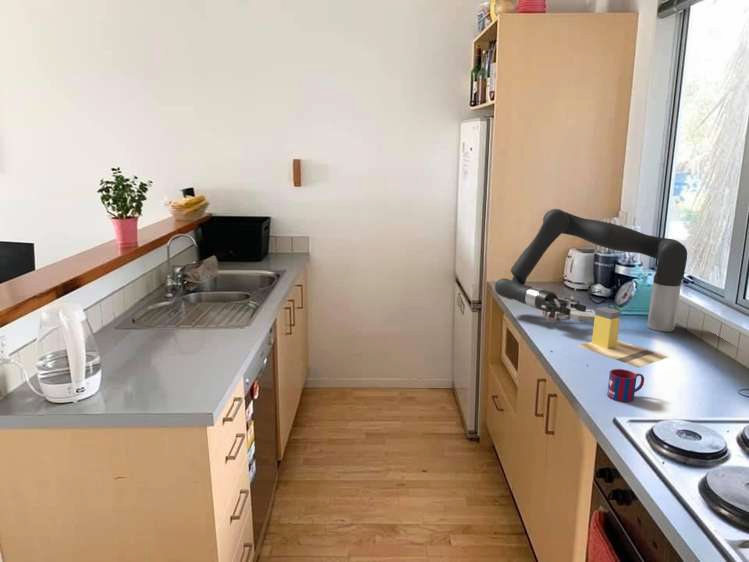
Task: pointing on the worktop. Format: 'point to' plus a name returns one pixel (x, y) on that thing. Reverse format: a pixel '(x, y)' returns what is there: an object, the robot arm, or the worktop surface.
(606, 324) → the yellow spice tin
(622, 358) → the plywood panel
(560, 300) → the robot arm
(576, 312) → the futuristic handgun
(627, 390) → the mug
